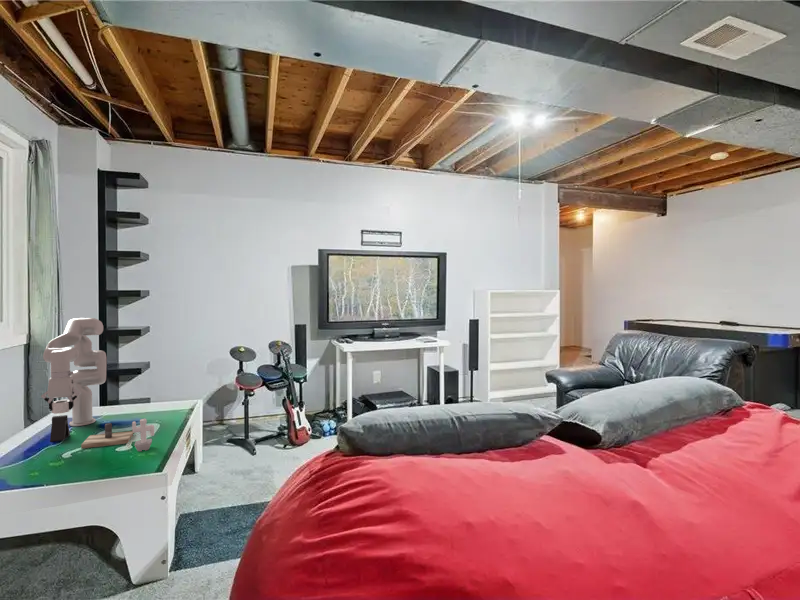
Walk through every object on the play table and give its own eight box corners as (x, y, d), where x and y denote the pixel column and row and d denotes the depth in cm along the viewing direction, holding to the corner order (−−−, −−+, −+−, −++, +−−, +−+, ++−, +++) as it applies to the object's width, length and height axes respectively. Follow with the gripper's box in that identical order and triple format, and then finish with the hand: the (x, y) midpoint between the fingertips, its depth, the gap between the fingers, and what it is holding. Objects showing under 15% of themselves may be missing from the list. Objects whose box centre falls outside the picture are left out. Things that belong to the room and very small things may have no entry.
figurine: (154, 450, 212) (153, 420, 212) (131, 453, 208) (131, 422, 208) (154, 445, 219) (154, 416, 218) (133, 448, 215) (132, 418, 214)
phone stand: (63, 440, 225) (63, 417, 225) (49, 441, 223) (49, 419, 222) (70, 434, 233) (69, 413, 233) (56, 436, 231) (56, 414, 231)
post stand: (89, 439, 227) (89, 422, 227) (133, 434, 234) (133, 418, 234) (81, 448, 214) (81, 430, 214) (127, 443, 221) (127, 426, 221)
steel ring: (55, 410, 219) (55, 400, 218) (72, 408, 221) (72, 399, 221) (50, 414, 212) (50, 404, 212) (67, 412, 215) (67, 402, 214)
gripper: (83, 372, 223) (84, 405, 223) (42, 374, 216) (43, 409, 217) (78, 375, 216) (79, 410, 216) (36, 377, 209) (36, 413, 210)
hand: (61, 409), depth 217 cm, fingers closed on steel ring, 7 cm apart
